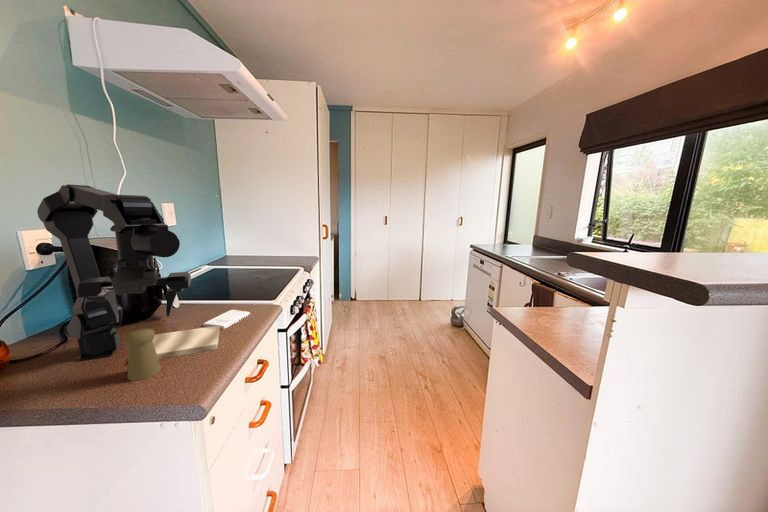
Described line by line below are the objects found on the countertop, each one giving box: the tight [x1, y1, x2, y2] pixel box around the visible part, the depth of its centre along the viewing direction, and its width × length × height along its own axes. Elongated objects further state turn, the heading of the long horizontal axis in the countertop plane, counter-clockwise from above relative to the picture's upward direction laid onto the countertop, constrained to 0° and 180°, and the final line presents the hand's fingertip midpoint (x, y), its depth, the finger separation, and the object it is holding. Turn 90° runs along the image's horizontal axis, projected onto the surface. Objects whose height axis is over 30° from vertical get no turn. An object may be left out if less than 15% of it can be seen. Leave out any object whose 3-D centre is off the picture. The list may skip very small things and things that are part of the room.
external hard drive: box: [202, 309, 251, 330], centre depth 96 cm, size 2×8×12 cm
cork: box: [124, 326, 162, 382], centre depth 64 cm, size 6×6×11 cm
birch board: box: [153, 326, 221, 360], centre depth 78 cm, size 18×13×2 cm
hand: (143, 319), depth 64 cm, fingers open, 9 cm apart
